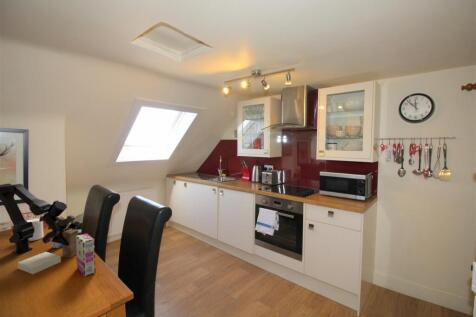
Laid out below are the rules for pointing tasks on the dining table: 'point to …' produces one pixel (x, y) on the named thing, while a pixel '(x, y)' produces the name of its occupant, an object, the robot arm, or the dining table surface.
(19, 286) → the dining table surface
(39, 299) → the dining table surface
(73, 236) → the walnut block
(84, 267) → the candy bar box
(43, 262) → the sage base
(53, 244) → the medicine box
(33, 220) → the beverage can
